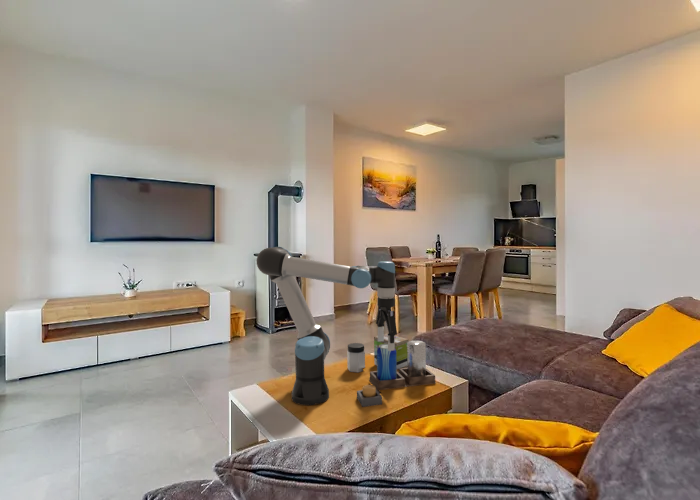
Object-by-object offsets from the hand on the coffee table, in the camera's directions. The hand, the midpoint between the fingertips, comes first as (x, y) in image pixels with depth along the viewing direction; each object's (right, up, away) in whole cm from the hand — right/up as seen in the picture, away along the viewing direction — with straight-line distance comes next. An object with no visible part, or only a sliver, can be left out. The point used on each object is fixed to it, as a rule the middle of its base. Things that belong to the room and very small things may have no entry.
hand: (385, 345), depth 156 cm
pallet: (+7, -17, +2) cm, 19 cm away
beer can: (+1, -16, 0) cm, 16 cm away
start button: (-8, -16, -15) cm, 23 cm away
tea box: (+5, -17, +24) cm, 30 cm away
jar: (-12, -17, +20) cm, 30 cm away
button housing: (-8, -18, -15) cm, 25 cm away
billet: (+14, -16, +4) cm, 22 cm away
